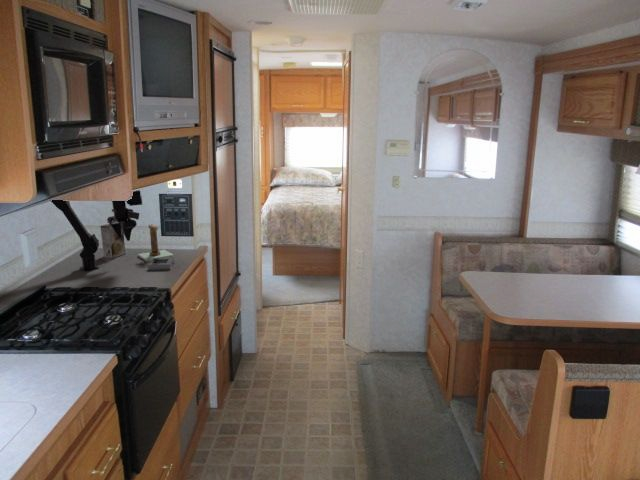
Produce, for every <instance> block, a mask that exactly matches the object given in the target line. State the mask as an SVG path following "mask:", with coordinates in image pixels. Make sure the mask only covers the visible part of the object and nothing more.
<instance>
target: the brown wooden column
mask: <svg viewBox="0 0 640 480" xmlns="http://www.w3.org/2000/svg"><path fill="white" fill-rule="evenodd" d="M148 229H149V236H150V237H149V238H150V248H151V251H150V256H158V255H160V250H159V245H158V230H159V228H158V226H156V225H154V224H150V223H149V224H148Z"/></svg>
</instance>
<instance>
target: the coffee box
mask: <svg viewBox="0 0 640 480" xmlns="http://www.w3.org/2000/svg"><path fill="white" fill-rule="evenodd" d="M109 224H110V223H107V224H103V225H100V226H99V227H100V234H101V242H102V244H101V245H102V251H103V257H104V258H110V259H113V258H116V257H119V256H123V255H125V254H126V253H127V252H126V245H125V235H124V233H123V231H122V229H121V238H118V236H117V235H116V233H115V232H114V230H113V229H112V227H111V226H110V225H109ZM121 228H122V227H121Z"/></svg>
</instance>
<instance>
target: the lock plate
mask: <svg viewBox="0 0 640 480" xmlns="http://www.w3.org/2000/svg"><path fill="white" fill-rule="evenodd" d="M175 261H176V260H175V256H174V257H171V258H153V259H152V260H151V261H149V263H148V265H147V268H148V269H147V270H148V271H170V270H171V269H172V268H173V266H174V264H175Z"/></svg>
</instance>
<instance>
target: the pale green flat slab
mask: <svg viewBox="0 0 640 480" xmlns="http://www.w3.org/2000/svg"><path fill="white" fill-rule="evenodd" d="M159 251H160V255H158V256H150V252H151V251H150V252H141V253H138V254H137V257H138V258H140V259H141V260H143V261H145V262H146V263H148V262H149V263H150V262H151V260H152V259H153V258H173V257H174V258H175V255H174V254H173V253H171V252H169V251H167V250H166V249H160V250H159Z"/></svg>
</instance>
